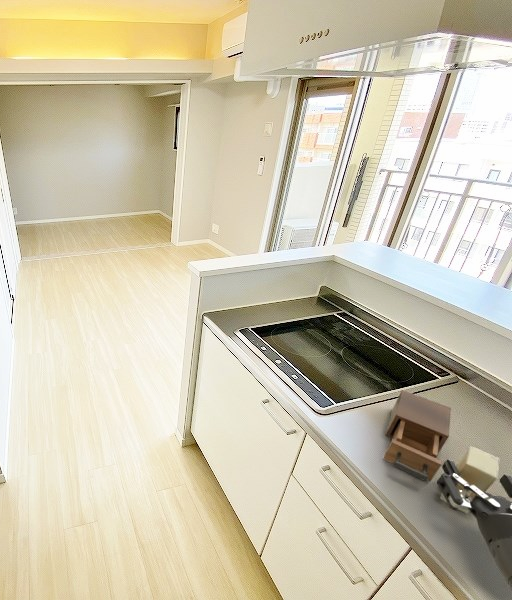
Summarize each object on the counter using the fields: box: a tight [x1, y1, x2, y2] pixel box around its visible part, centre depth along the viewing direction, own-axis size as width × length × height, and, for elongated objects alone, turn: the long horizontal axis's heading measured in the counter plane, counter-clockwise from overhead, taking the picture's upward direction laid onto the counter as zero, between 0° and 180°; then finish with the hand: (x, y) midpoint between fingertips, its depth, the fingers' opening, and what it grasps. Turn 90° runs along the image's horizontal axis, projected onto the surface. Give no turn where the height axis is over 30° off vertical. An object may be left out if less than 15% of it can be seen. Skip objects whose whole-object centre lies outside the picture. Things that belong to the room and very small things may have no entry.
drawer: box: [382, 420, 443, 482], centre depth 75 cm, size 15×8×6 cm, turn 136°
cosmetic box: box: [439, 445, 501, 515], centre depth 67 cm, size 6×4×12 cm
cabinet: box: [385, 389, 452, 454], centre depth 83 cm, size 12×10×8 cm
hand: (475, 469), depth 66 cm, fingers open, 8 cm apart
